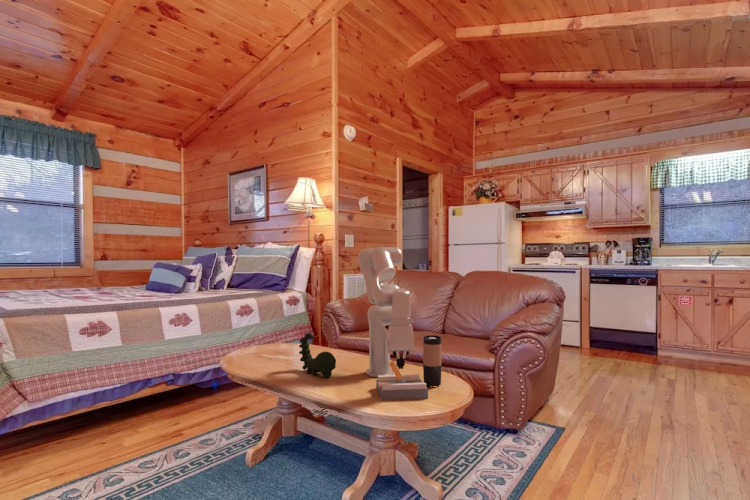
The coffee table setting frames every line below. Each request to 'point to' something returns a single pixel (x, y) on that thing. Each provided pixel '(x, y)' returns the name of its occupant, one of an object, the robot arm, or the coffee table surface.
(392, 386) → the breaker block
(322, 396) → the coffee table surface
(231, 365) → the coffee table surface
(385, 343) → the robot arm
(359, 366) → the coffee table surface
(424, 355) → the travel mug
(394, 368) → the breaker lever
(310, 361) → the toy figurine
